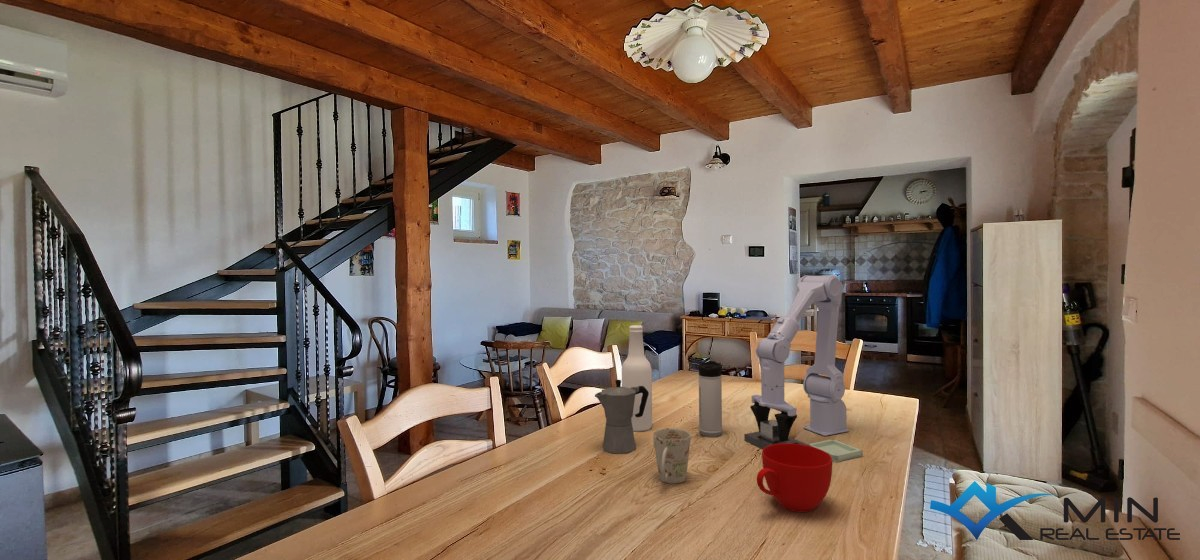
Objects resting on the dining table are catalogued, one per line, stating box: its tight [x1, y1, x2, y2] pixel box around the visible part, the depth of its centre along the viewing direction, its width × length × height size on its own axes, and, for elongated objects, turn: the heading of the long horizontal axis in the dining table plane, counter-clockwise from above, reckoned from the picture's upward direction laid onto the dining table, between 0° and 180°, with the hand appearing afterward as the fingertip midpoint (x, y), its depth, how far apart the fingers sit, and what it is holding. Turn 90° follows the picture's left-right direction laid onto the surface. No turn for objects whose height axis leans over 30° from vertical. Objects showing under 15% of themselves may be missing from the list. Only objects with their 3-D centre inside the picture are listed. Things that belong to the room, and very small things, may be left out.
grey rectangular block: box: [760, 419, 784, 444], centre depth 135 cm, size 4×4×6 cm
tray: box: [807, 438, 864, 463], centre depth 128 cm, size 9×9×2 cm
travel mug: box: [698, 360, 723, 438], centre depth 145 cm, size 6×7×20 cm
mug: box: [652, 427, 692, 484], centre depth 113 cm, size 8×13×10 cm, turn 161°
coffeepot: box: [594, 379, 649, 455], centre depth 135 cm, size 15×9×18 cm, turn 113°
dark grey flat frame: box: [743, 431, 829, 454], centre depth 131 cm, size 20×9×2 cm, turn 23°
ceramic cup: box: [756, 443, 833, 513], centre depth 101 cm, size 13×17×10 cm
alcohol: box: [621, 324, 653, 432], centre depth 151 cm, size 9×9×30 cm
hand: (773, 436), depth 135 cm, fingers open, 7 cm apart
